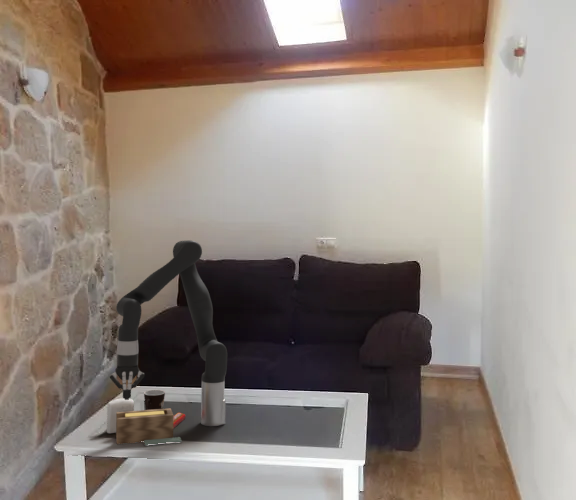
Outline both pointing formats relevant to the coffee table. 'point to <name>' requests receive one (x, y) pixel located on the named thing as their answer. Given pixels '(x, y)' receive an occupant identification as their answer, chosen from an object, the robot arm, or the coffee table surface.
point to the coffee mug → (154, 399)
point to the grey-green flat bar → (162, 440)
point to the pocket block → (143, 426)
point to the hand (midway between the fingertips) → (126, 399)
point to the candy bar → (178, 419)
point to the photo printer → (117, 406)
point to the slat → (144, 414)
